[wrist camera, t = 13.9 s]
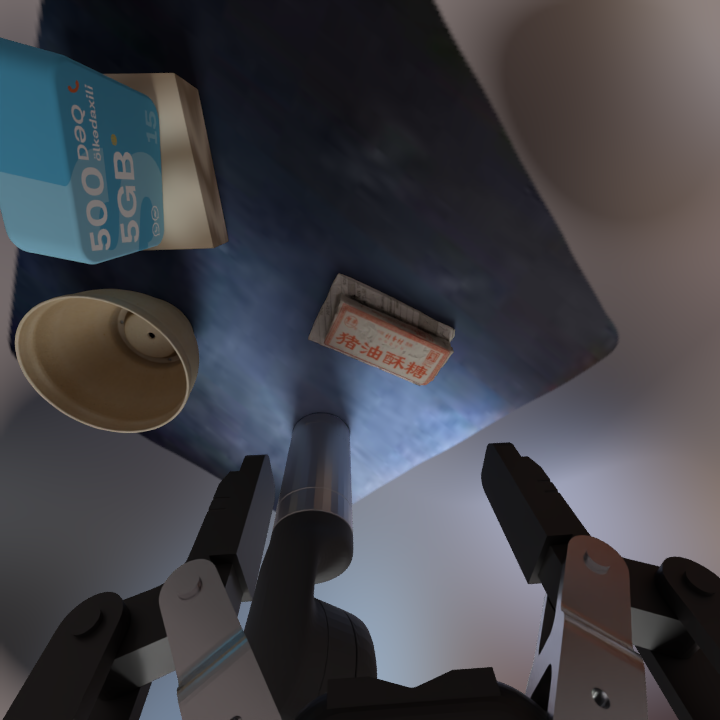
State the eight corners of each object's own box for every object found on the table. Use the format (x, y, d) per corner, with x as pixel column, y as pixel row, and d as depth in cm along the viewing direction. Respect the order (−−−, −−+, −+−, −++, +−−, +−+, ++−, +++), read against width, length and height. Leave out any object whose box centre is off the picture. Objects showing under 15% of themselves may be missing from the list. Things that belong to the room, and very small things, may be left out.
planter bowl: (135, 393, 47) (82, 446, 37) (63, 287, 40) (-27, 318, 30) (240, 369, 46) (213, 417, 36) (186, 255, 38) (135, 277, 29)
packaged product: (467, 341, 41) (425, 400, 45) (455, 326, 45) (418, 382, 49) (337, 279, 36) (304, 351, 40) (337, 269, 41) (307, 335, 45)
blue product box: (166, 244, 33) (83, 269, 23) (118, 233, 32) (9, 255, 22) (159, 100, 28) (46, 45, 17) (102, 85, 27) (-52, 18, 17)
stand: (228, 241, 38) (213, 248, 34) (133, 244, 38) (105, 251, 33) (197, 89, 31) (174, 72, 27) (81, 91, 31) (38, 75, 27)
